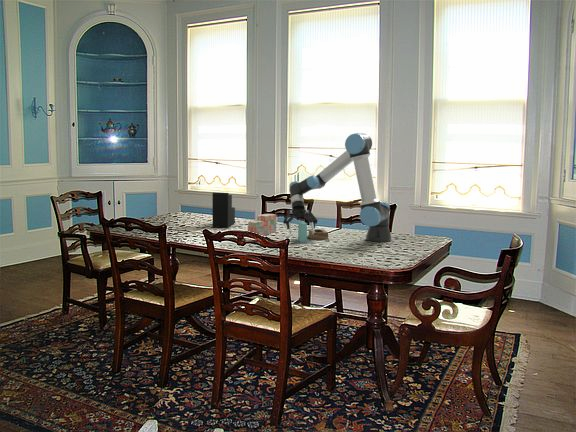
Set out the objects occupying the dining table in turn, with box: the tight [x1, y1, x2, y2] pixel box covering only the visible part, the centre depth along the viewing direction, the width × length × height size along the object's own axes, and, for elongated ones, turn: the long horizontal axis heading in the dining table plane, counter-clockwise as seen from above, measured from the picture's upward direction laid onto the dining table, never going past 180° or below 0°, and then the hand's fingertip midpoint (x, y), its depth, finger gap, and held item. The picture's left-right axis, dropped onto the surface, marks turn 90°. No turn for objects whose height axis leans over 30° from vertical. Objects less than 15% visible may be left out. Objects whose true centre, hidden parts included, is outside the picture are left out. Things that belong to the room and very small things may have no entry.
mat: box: [289, 238, 316, 245], centre depth 342 cm, size 16×12×1 cm
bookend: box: [212, 192, 236, 229], centre depth 397 cm, size 23×11×24 cm, turn 172°
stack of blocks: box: [247, 213, 277, 237], centre depth 363 cm, size 21×6×12 cm, turn 145°
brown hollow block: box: [307, 228, 330, 241], centre depth 354 cm, size 13×10×4 cm
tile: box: [297, 221, 308, 243], centre depth 341 cm, size 8×4×11 cm, turn 10°
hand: (302, 232), depth 340 cm, fingers open, 13 cm apart
